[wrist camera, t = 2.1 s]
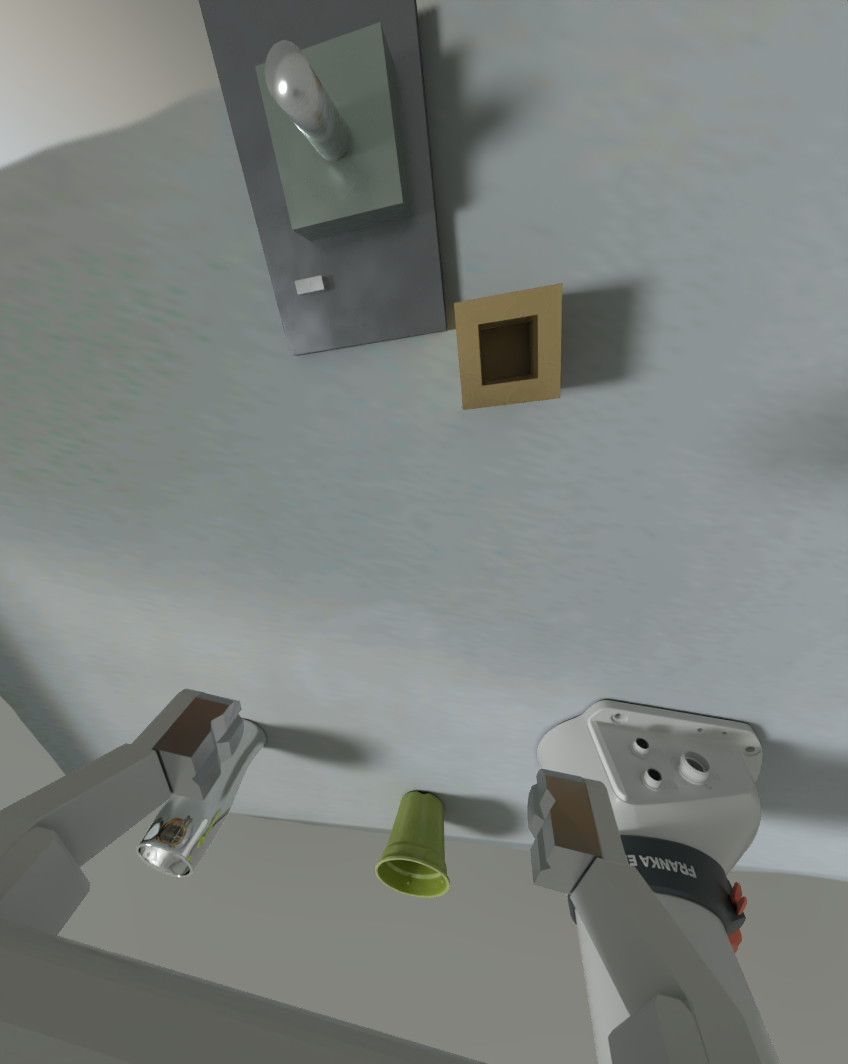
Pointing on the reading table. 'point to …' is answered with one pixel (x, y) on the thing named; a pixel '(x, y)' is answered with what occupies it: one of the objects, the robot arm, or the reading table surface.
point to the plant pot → (416, 848)
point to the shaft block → (335, 163)
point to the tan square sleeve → (544, 346)
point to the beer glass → (197, 814)
